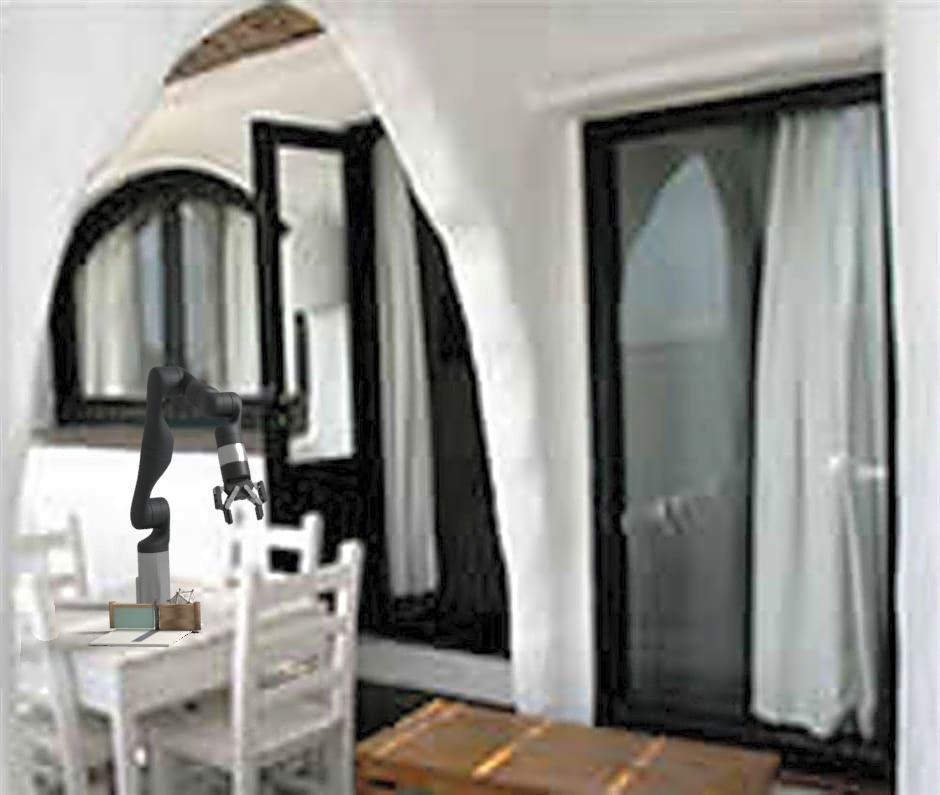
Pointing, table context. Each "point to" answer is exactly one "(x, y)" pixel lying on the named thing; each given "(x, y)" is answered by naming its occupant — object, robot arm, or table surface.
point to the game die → (183, 597)
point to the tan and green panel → (131, 616)
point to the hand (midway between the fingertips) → (245, 521)
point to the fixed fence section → (177, 616)
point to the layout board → (141, 637)
